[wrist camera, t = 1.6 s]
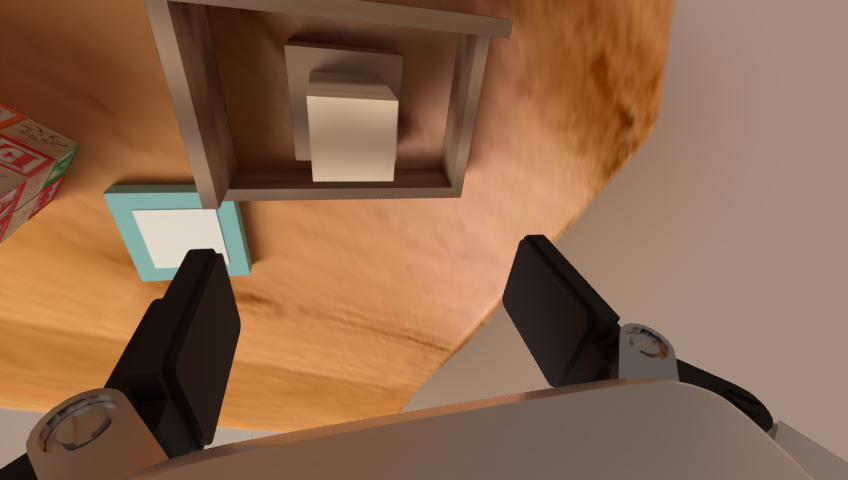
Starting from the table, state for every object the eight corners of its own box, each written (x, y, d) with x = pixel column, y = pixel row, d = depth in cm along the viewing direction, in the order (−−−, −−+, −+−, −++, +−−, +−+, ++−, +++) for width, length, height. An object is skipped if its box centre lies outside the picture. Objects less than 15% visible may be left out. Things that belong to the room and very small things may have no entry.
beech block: (309, 71, 24) (306, 95, 19) (381, 76, 26) (398, 101, 20) (314, 142, 27) (313, 181, 21) (379, 143, 28) (393, 181, 23)
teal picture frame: (111, 185, 28) (101, 194, 27) (234, 184, 30) (231, 192, 29) (148, 271, 33) (142, 282, 32) (252, 265, 35) (249, 275, 34)
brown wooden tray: (181, -24, 22) (135, -28, 17) (474, 13, 27) (513, 20, 22) (227, 179, 30) (206, 222, 24) (448, 178, 35) (471, 214, 30)
